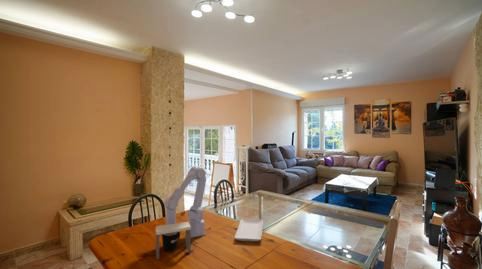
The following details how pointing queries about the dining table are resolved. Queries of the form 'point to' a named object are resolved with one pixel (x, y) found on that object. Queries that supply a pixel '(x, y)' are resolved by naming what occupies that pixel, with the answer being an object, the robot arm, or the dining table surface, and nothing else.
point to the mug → (170, 241)
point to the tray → (249, 230)
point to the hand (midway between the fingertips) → (171, 240)
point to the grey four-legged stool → (174, 228)
